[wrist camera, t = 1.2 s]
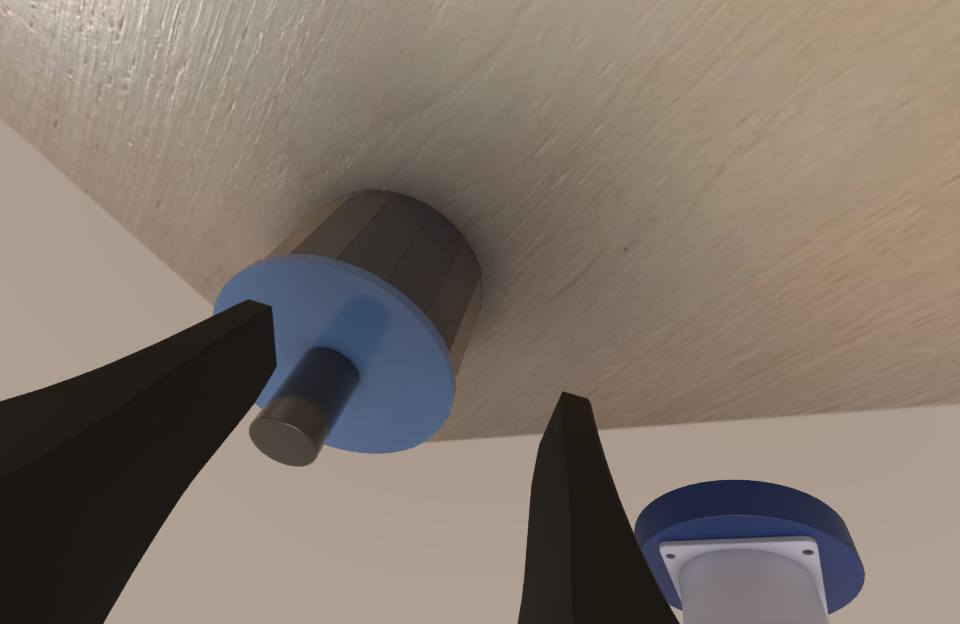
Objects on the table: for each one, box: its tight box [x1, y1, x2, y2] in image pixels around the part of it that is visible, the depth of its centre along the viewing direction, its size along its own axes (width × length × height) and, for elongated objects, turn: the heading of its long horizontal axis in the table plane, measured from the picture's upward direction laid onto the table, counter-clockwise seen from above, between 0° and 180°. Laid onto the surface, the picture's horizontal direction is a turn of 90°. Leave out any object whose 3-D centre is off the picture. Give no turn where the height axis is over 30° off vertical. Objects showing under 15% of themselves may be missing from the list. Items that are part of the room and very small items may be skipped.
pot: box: [265, 191, 482, 376], centre depth 22 cm, size 9×9×6 cm
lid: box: [213, 254, 456, 467], centre depth 18 cm, size 10×10×5 cm
